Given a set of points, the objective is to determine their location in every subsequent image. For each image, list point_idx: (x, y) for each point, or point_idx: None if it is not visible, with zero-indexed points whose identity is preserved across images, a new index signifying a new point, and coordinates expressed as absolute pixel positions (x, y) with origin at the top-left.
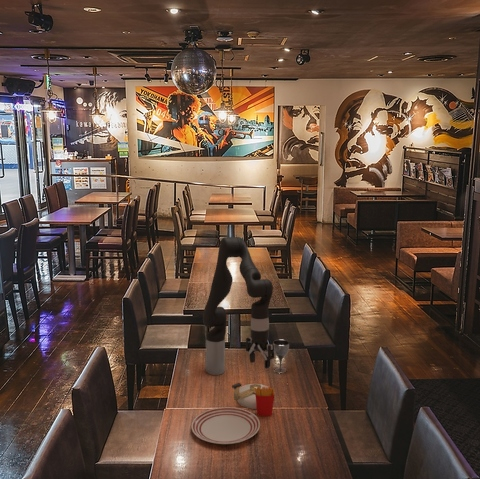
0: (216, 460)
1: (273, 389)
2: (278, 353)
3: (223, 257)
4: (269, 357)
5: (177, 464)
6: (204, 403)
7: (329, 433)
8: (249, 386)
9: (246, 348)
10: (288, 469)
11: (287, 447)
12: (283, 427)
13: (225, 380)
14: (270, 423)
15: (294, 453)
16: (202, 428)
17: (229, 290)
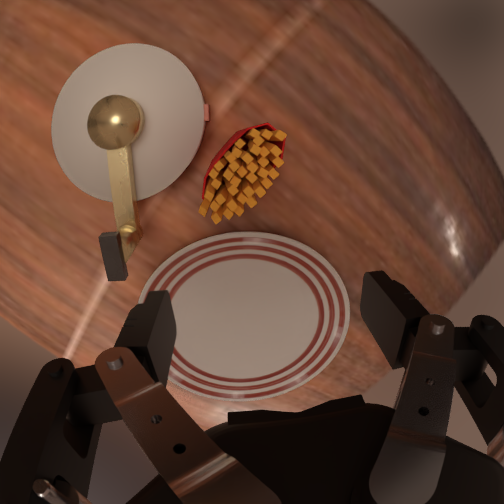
0: (328, 387)
1: (282, 138)
2: None
3: None
4: (474, 385)
5: None
6: (68, 285)
7: (451, 99)
8: (69, 117)
9: (77, 434)
10: (452, 292)
11: (419, 240)
12: (353, 171)
13: None
14: (306, 188)
15: (440, 244)
16: (203, 367)
17: None
